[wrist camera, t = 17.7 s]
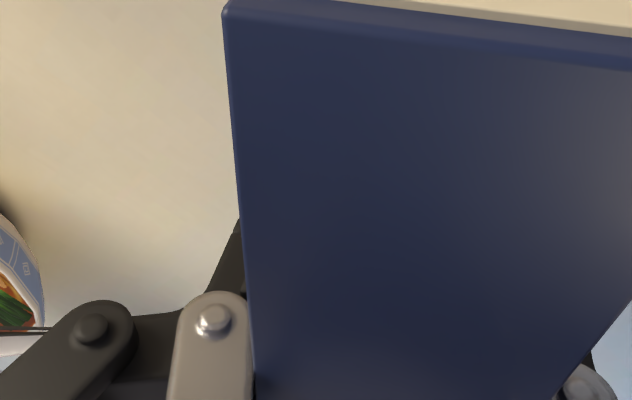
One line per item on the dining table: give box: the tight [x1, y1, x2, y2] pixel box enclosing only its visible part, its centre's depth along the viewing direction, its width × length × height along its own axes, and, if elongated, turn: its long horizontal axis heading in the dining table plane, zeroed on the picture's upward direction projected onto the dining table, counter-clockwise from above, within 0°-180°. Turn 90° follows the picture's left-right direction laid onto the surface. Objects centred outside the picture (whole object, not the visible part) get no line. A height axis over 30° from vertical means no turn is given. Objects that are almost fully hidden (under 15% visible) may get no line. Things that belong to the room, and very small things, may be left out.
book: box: [221, 0, 632, 400], centre depth 15 cm, size 20×4×13 cm
